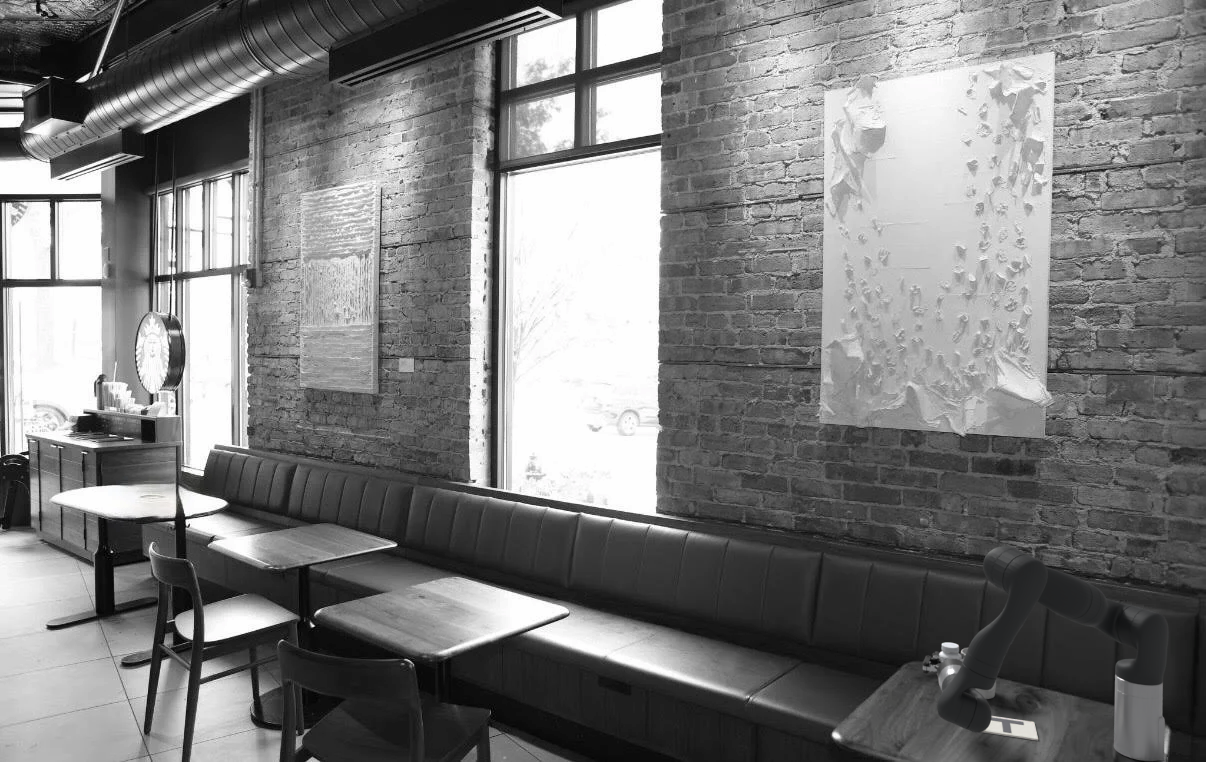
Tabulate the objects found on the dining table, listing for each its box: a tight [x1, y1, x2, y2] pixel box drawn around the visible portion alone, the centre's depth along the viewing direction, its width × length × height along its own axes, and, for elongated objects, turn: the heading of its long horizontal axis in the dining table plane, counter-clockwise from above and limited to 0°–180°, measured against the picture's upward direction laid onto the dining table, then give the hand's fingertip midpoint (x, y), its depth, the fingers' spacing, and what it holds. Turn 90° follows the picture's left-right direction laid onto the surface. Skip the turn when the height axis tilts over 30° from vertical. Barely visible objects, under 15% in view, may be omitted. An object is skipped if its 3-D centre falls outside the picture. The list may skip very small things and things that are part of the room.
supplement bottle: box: [938, 642, 962, 660], centre depth 209 cm, size 5×5×10 cm
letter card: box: [981, 715, 1039, 741], centre depth 207 cm, size 13×10×1 cm
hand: (949, 656), depth 212 cm, fingers closed on supplement bottle, 5 cm apart
